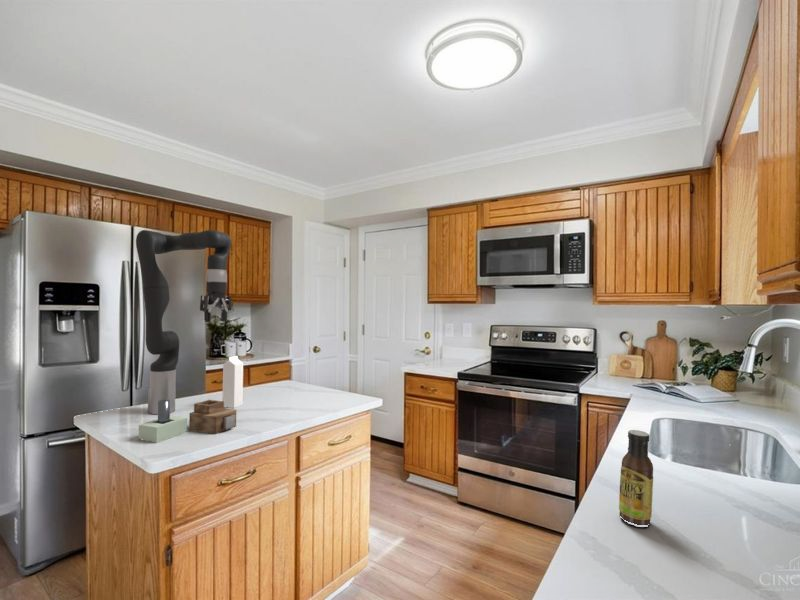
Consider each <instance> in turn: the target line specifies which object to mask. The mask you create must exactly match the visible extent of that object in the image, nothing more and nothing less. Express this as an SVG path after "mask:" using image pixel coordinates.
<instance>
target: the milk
mask: <svg viewBox="0 0 800 600" xmlns="http://www.w3.org/2000/svg"><path fill="white" fill-rule="evenodd" d="M222 370H223V371H222V399H221V401H224V408H226V407H228V408H227V409H236V408H238V407H241V406H243V401H244V400H243V399H244V396H243V393H244V391H243V390H244V362H243V361H242V360H240V359H239V356H238V355H233V356H229V358H228V360H227V361H225V362H224V363H223V364H222ZM240 405H241V406H240ZM235 407H236V408H235Z"/></svg>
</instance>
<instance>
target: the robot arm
mask: <svg viewBox="0 0 800 600" xmlns="http://www.w3.org/2000/svg"><path fill="white" fill-rule="evenodd" d="M135 245H136V251H137V257H138V260H139V265H140V270H141V271H140V273H141V274H140V275H141V279H142V292H143V293H142V295H143V301H144V310H145V313H144V314H145V346H146V350H147V352H149V354H151V355H154V356H155V355H156V356H157V355H159V356H158V358H157V359H156V360H155V361H153V362H151V364H150V367H149V370H150V373H149V388H148V389H147V412H148V413H149V414H151V415H158V401H160V400H170V413H172V412H175V411H176V385H177V384H176V382H177V380H176V379H177V377H176V376H177V365H178V362H179V355H180V338H179V335H178V334H177V333H176V332H175V331H173V330H172V331H171V330H163V317H164V314H165V312H166V311H167V308H168V306H169V303H170V299H171V297H170V289H169V283H168V281H167V279H166V277H165V274H163V272H162V271H161V269H160V267H159V266H158V263H157V258H156V255H161V254H163V255H164V254H167V253H171V252H175V251H193V250H194V251H195V250H197V251H199V250H206V249H214V252H213V254H210V255H209V256H207V268H206V269H207V270H206V285H205V286H206V287H205V288H206V289H205V290H206V291H205V292H206V293H207V294H206V295H201V296H200V300H199V301H200V302H199V304H200V305H199V311H201V312H204V322H205V323H211V322H212V321H211V320H212V310H213V309H214V308H215V307H218V308H219V309H220V310H221V313H220V320H221V322H227V320H228V313H229V312H230V311H232V296H231V295H226V293H227V291H228V290H227V289H228V273H227V269H228V267H227V265H228V264H227V261H228V257H229V254H230V251H231V247H232V239H231V236H230V235H229V234H228V233H226V232H223V231H219V230H214V229H213V230H212V229H208V230H202V231H200V232H199V231H198V232H196V231H193V232H185V233H182V234H179V235H170V234H165V233H162V232H158V231H153V230H147V229H142V230H140V231H139V232H138V233H137V234H136V238H135Z"/></svg>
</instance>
